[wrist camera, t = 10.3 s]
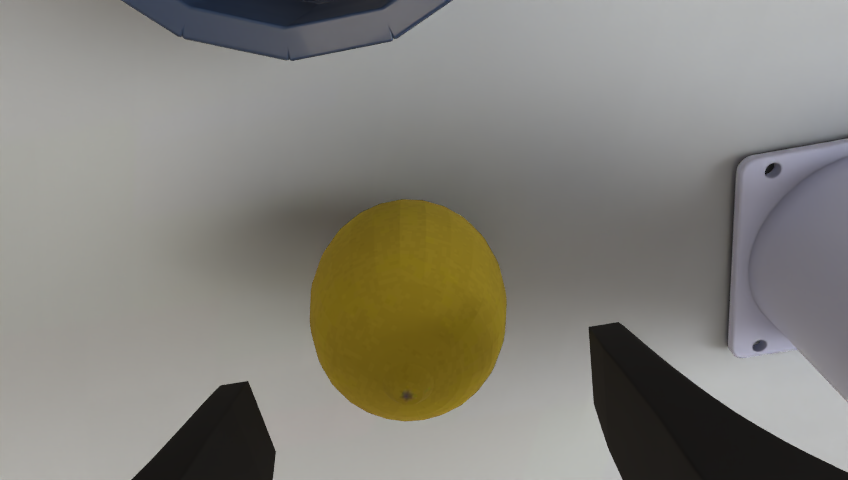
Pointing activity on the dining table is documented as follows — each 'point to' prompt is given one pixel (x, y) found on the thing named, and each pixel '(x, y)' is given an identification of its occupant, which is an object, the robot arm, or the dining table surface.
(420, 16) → the pot
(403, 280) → the lemon
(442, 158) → the dining table surface
